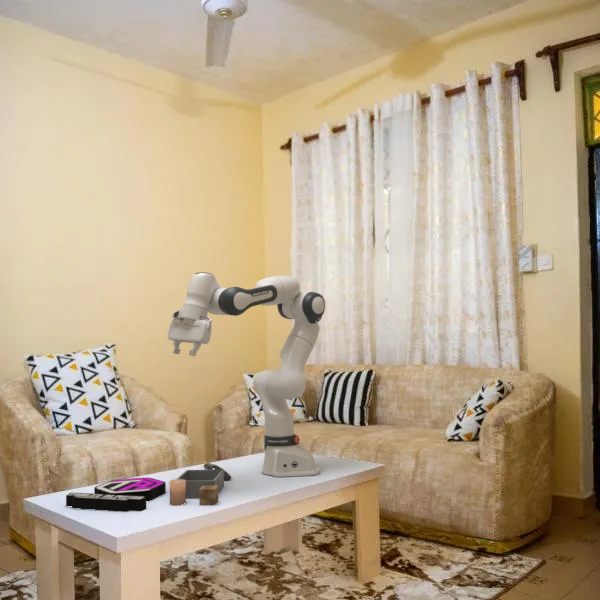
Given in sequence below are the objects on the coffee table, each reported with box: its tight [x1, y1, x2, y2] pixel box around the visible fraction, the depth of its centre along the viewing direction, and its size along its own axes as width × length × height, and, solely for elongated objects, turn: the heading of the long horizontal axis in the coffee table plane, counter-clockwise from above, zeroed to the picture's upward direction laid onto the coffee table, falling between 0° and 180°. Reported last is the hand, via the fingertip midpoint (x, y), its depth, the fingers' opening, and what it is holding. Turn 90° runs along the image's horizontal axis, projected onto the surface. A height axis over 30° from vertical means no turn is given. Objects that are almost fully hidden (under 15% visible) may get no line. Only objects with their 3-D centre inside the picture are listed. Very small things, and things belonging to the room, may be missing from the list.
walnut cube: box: [198, 485, 219, 506], centre depth 202 cm, size 5×5×5 cm
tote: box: [176, 469, 225, 499], centre depth 217 cm, size 13×17×6 cm
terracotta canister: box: [169, 478, 187, 506], centre depth 203 cm, size 5×5×7 cm
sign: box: [65, 477, 167, 513], centre depth 211 cm, size 27×4×30 cm
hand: (183, 354), depth 220 cm, fingers open, 8 cm apart
